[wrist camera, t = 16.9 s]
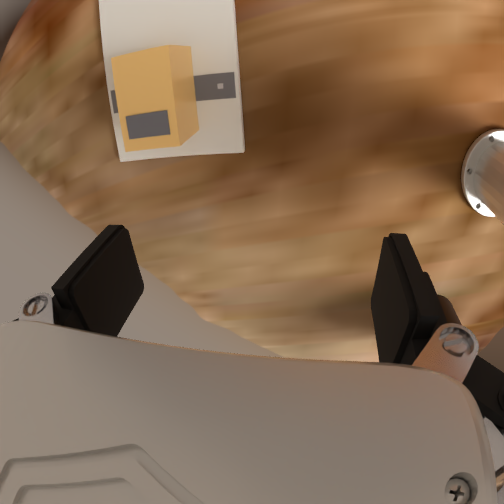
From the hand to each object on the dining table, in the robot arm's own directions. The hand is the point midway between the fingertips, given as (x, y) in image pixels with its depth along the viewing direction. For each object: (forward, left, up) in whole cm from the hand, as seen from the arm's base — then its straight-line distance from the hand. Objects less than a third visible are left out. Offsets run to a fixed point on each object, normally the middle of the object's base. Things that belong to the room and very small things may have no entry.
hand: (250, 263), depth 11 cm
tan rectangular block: (+12, -4, -27) cm, 29 cm away
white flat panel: (+12, -10, -28) cm, 32 cm away
